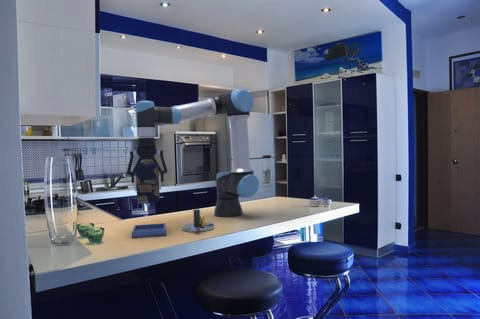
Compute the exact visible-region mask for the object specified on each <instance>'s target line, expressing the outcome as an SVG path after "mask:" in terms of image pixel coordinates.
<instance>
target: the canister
mask: <svg viewBox="0 0 480 319" xmlns="http://www.w3.org/2000/svg"><path fill="white" fill-rule="evenodd" d="M135 165H136V164H135ZM159 174H160V172H159V170H158V165H157V164H154V162H153V161H149V160H147V161H143V162H142V161H141V163H140V164H138V165H136V172H135V175H136V189H137V191H136V202H137V203H138V204H143V205H144V204H155V203H159V202H160V200H161V199H160V198H161V196H160V195H161V194H160V190H159Z"/></svg>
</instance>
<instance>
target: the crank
mask: <svg viewBox="0 0 480 319" xmlns="http://www.w3.org/2000/svg"><path fill="white" fill-rule="evenodd" d="M200 210H201V209H193V223H194V227H195V229H200V216H201V211H200Z"/></svg>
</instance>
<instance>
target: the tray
mask: <svg viewBox="0 0 480 319" xmlns="http://www.w3.org/2000/svg"><path fill="white" fill-rule="evenodd" d="M166 226H167V224H166V222H165V223H149V224H135V225H133V228H132V231H131V239H140V238H141V239H142V238H158V237H166V236H167V228H166Z"/></svg>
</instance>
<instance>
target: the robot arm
mask: <svg viewBox="0 0 480 319" xmlns="http://www.w3.org/2000/svg"><path fill="white" fill-rule="evenodd" d="M254 103H255V100H254V97H253V95H252V93H251V92H249V90H247V89H245V88H237V89H232V90H228V91H226V92H221V93H219V94H217V95H214V96H211V97H207V98H206V100H205V99H204V100H201V101H195V102H190V103H185V104H179V105H175V106H170V107H168V106H155V102H154V101H152V100H139V101H137V103H136V104H135V105H136V106H135V117H136V137H137V140H136V142H137V144H136V145H137V148H136V150H131V151H129V161H128V165H127V168H126V169H127V170H126V174H127V175H129V176H131V177H130V178H131V183H132V184H134V185H133V186H134V192H137V189H136V165H138V164H140V163H142V160H148V161H149V160H152V162H153V163H154V164H157V165H158V170H159V191H161V190H162V183H163V182H164V174H167V173H168V168H167V165H166V162H165V158H164V151H163V150H161V149H160V150H157V146H156V138H155V137H156V127H159V126H166V125H171V126H172V125H178V124H180V122H181V121H182V122H183V121H187V120H192V119H196V118H201V117H205V116H210V117H213V116H221V115H222V116H223V115H225V116H226V118H227V119H228V120H229V123H230V137H231V153H232V168H231V170H230V171H222V172H221V171H220V172H218V173H216V179H215V181H216V205H215V207H214V211H213V212H214V213H213V214H214V216H215V217H221V218H222V217H225V218H229V217H230V218H232V217H239V216H242V215H243V207H242V205H241V202H240V199H239V198H243V199H244V198H245V199H246V198H247V199H248V198H252V197H253V196H255V195H256V193H257V192H258V190H259V187H260V182H259V179H258V177H257V176H256V175H255V174H254V173H255V172H254V169H253V168H252V167H251V161H250V160H251V159H250V146H249V143H250V142H249V129H248V127H249V126H248V119H249V118H250V116H251V114H250V111H252V109H253V108H254ZM136 154H137V155H138V157H139V158H138V160H137V161H136V164H135V165H134V168H133V167H132V166H133V163H134V157H135V156H136ZM156 154H157V155H158V156H159V158H160V161H161V164H162V167H163V170H162V168H161V166H160V165H159V163H158V160H156V157H155V156H156ZM132 168H133V170H132V171H131V169H132Z"/></svg>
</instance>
